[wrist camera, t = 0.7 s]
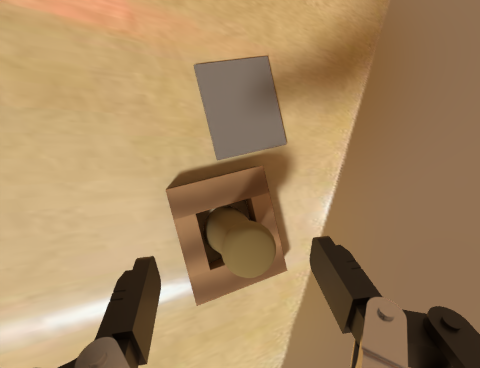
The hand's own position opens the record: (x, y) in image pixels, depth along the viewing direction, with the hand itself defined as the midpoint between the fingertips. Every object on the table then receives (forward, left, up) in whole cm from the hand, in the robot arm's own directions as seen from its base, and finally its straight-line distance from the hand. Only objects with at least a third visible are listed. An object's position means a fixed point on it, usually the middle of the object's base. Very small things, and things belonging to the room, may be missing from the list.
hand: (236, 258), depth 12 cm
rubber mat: (-12, +9, -19) cm, 24 cm away
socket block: (+3, +3, -19) cm, 19 cm away
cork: (+3, +3, -19) cm, 20 cm away
